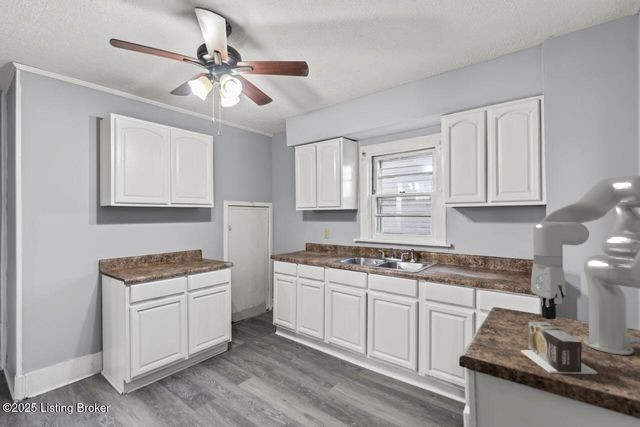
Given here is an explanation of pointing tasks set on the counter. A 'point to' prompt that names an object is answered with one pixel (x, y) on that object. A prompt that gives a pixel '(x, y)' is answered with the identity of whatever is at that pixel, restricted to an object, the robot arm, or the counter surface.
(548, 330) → the coffee box
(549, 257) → the robot arm
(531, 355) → the mat
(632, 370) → the counter surface
